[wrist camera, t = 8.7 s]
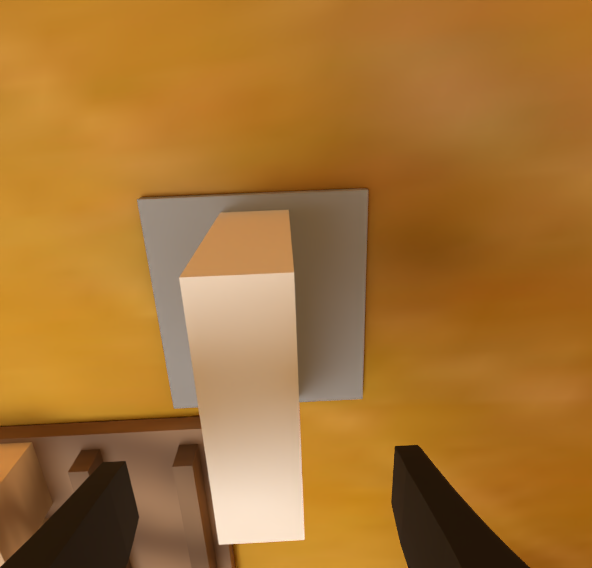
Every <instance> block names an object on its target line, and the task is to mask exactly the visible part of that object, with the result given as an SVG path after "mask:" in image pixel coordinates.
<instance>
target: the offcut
mask: <svg viewBox="0 0 592 568" xmlns="http://www.w3.org/2000/svg"><path fill="white" fill-rule="evenodd" d="M52 504H53V502H52V499H51V496H50V494H49V491H48V488H47V485H46V482H45V479H44V476H43V473H42V470H41V467H40V464H39V462H38V459H37V456H36V453H35V450H34V447H33V444H32V442H27V443H8V444H0V567H1V566H2V565H3V564H4V563H5V562H6V561H7V560H8V559H9V558H10V557H11V556H12V555H13V554H14V553H15V552H16V551H17V550H18V549H19V548H20V547H21V546H22V545H23V544H24V543H25V542H27V541H28V540H29V539H30V538H31V537H32V536H33V534H34V533H35V532H36V531H37V530H38V528H39V526H40V525H41V523H42V521H43V520H44V518H45V516H46V515H47V513H48V511H49V509H50V508H51V506H52Z"/></svg>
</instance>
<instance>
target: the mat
mask: <svg viewBox="0 0 592 568" xmlns="http://www.w3.org/2000/svg"><path fill="white" fill-rule="evenodd" d="M137 202H138V208H139V213H140V219H141V225H142V230H143V236H144V242H145V247H146V253H147V259H148V264H149V270H150V276H151V281H152V287H153V293H154V298H155V304H156V310H157V315H158V321H159V327H160V332H161V338H162V344H163V349H164V355H165V361H166V366H167V372H168V378H169V383H170V389H171V395H172V400H173V406H174V408H194V407H198V401H197V395H196V388H195V381H194V375H193V368H192V361H191V354H190V348H189V341H188V334H187V328H186V321H185V314H184V307H183V301H182V294H181V287H180V281H179V277H180V275H181V274H182V272H183V271H184V269H185V267H186V266H187V264H188V263H189V261H190V260H191V258H192V256H193V255H194V253H195V252H196V250H197V248H198V247H199V245H200V244H201V242H202V241H203V239H204V237H205V236H206V234H207V233H208V231H209V229H210V228H211V226H212V225H213V223H214V222H215V220H216V218H217V217H218V215H219V214H220V213H221V212H245V211H269V210H289V220H290V231H291V243H292V254H293V265H294V282H295V308H296V334H297V359H298V385H299V402H311V401H330V400H350V399H362V398H363V363H364V328H365V293H366V258H367V223H368V189H367V188H359V189H335V190H311V191H287V192H263V193H239V194H215V195H191V196H167V197H143V198H139V199H137Z"/></svg>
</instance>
